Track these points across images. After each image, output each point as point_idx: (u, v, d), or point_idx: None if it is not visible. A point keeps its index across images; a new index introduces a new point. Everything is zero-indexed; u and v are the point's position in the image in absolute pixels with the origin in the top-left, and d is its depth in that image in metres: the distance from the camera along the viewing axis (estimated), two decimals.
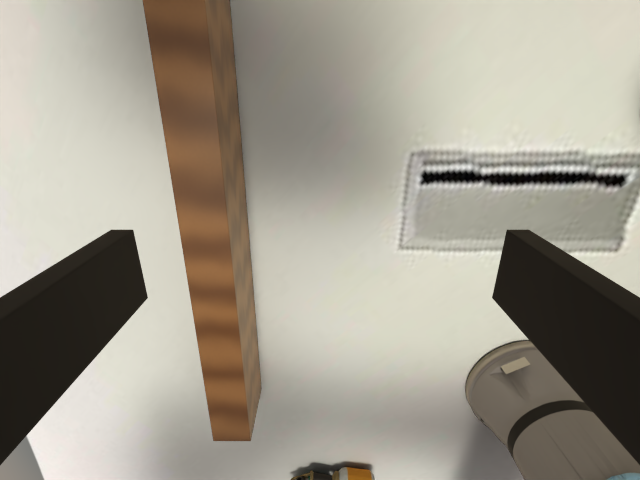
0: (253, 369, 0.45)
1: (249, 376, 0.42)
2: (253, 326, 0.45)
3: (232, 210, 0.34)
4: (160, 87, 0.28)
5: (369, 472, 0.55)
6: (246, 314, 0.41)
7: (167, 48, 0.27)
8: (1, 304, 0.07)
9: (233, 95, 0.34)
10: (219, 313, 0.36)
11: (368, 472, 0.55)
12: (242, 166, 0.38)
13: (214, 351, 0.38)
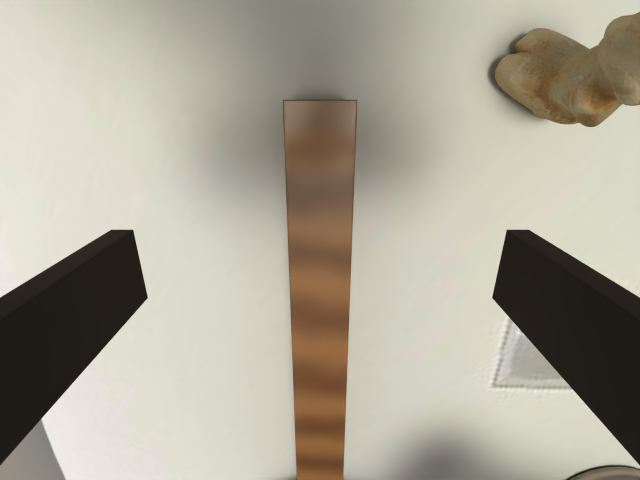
0: None
1: None
2: None
3: None
4: (294, 294, 0.27)
5: None
6: None
7: (307, 261, 0.26)
8: (1, 304, 0.07)
9: None
10: (324, 479, 0.35)
11: None
12: None
13: None
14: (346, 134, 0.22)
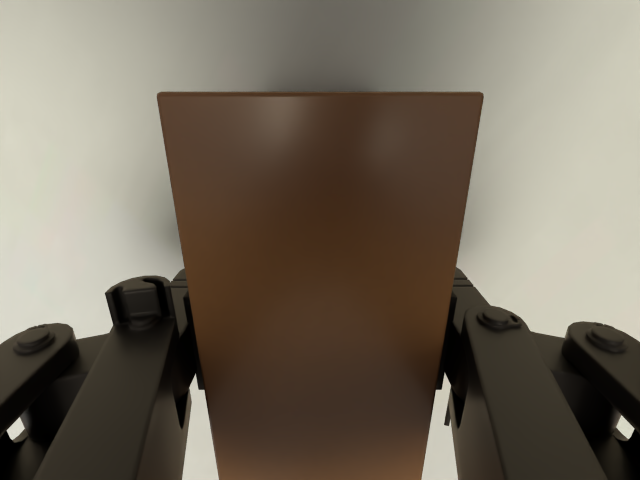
0: None
1: None
2: None
3: None
4: None
5: None
6: None
7: None
8: None
9: None
10: None
11: None
12: None
13: None
14: (426, 229, 0.06)
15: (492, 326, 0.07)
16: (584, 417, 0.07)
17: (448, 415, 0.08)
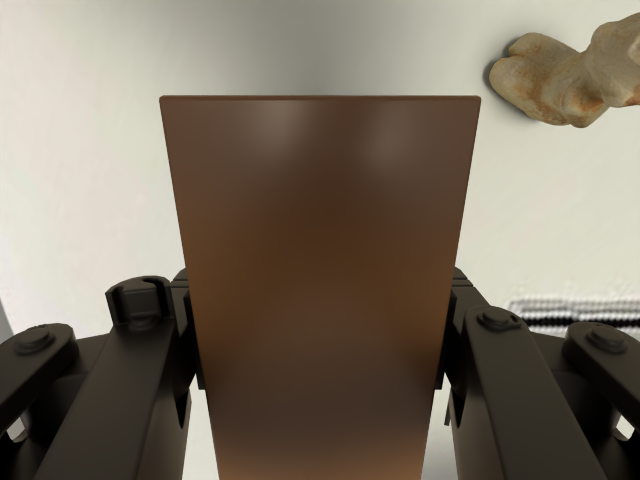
0: None
1: None
2: None
3: None
4: None
5: None
6: None
7: None
8: None
9: None
10: None
11: None
12: None
13: None
14: (425, 232, 0.06)
15: (493, 326, 0.07)
16: (584, 417, 0.07)
17: (448, 415, 0.08)
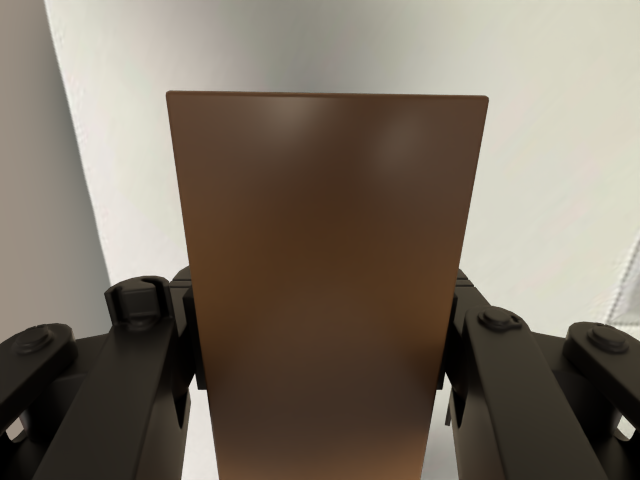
0: None
1: None
2: None
3: None
4: None
5: None
6: None
7: None
8: None
9: None
10: None
11: None
12: None
13: None
14: (430, 231, 0.06)
15: (494, 326, 0.07)
16: (585, 417, 0.07)
17: (449, 415, 0.08)
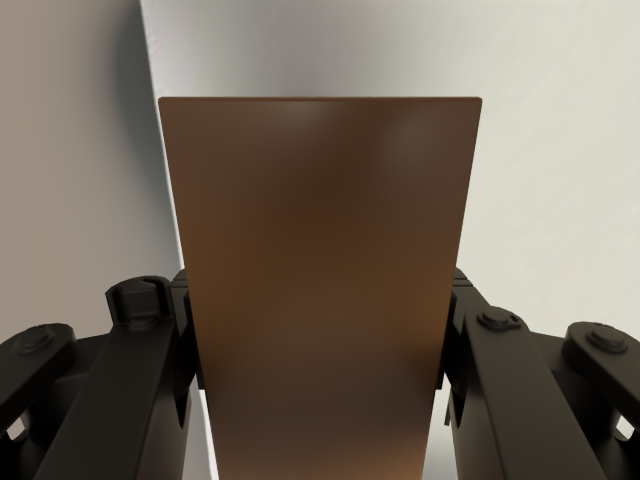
0: None
1: None
2: None
3: None
4: None
5: None
6: None
7: None
8: None
9: None
10: None
11: None
12: None
13: None
14: (426, 233, 0.06)
15: (492, 326, 0.07)
16: (584, 417, 0.07)
17: (448, 415, 0.08)
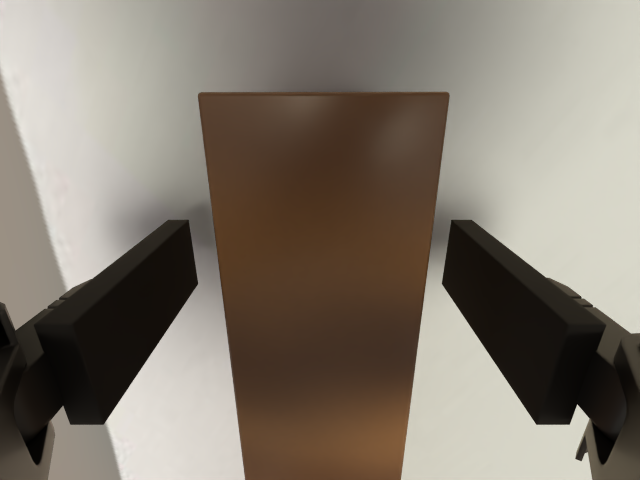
0: None
1: None
2: None
3: None
4: None
5: None
6: None
7: None
8: (100, 280, 0.08)
9: None
10: None
11: None
12: None
13: None
14: (408, 201, 0.07)
15: None
16: None
17: (583, 449, 0.07)
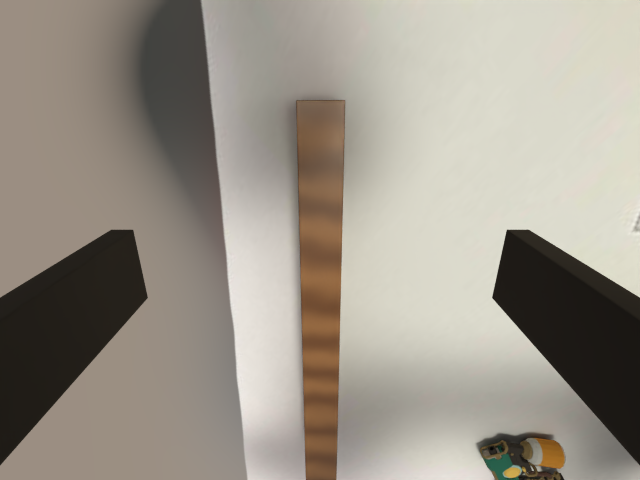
0: None
1: None
2: None
3: None
4: (302, 237, 0.38)
5: (556, 442, 0.60)
6: None
7: (312, 213, 0.37)
8: (1, 304, 0.07)
9: None
10: (324, 387, 0.46)
11: (555, 442, 0.60)
12: None
13: (316, 415, 0.48)
14: (338, 123, 0.34)
15: None
16: None
17: None
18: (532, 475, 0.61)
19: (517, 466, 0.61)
